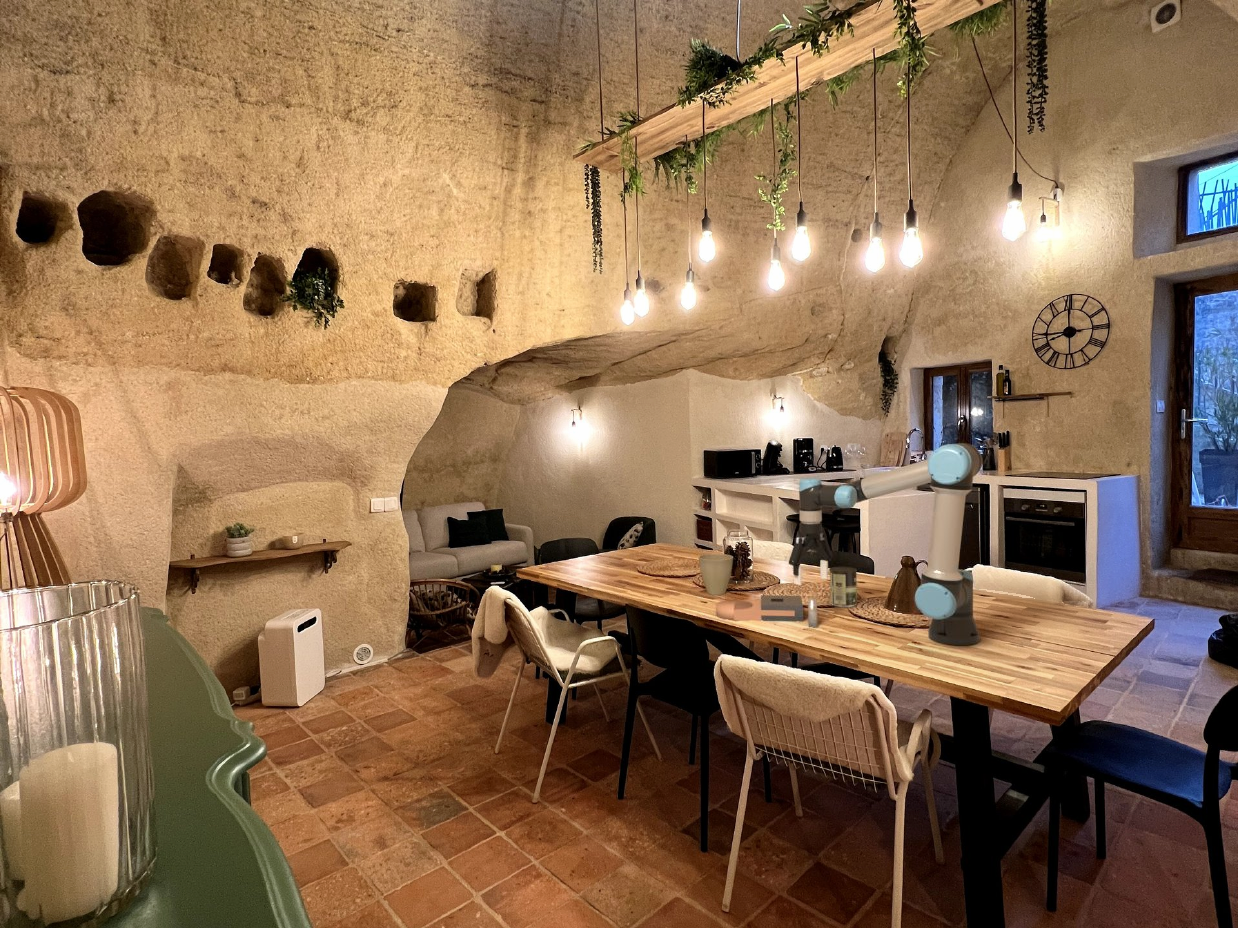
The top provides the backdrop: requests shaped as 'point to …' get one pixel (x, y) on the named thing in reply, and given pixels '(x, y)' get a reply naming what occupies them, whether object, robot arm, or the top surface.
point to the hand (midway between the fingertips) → (811, 581)
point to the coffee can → (843, 586)
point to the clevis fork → (782, 607)
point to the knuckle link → (746, 610)
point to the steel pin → (812, 612)
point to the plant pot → (716, 572)
